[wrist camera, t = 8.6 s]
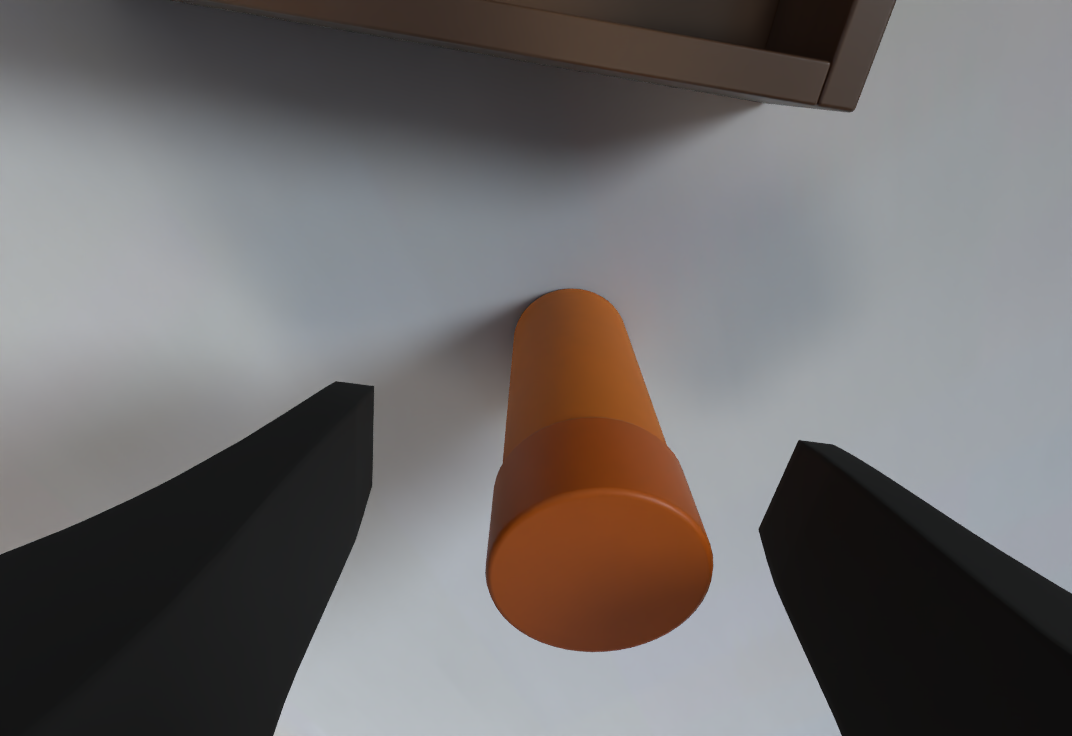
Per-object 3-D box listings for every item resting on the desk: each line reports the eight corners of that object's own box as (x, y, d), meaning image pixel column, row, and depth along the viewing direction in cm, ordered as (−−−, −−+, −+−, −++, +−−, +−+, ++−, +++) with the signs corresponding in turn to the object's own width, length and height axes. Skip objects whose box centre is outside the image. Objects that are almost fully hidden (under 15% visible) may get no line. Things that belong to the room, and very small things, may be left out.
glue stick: (503, 384, 14) (473, 643, 8) (518, 274, 13) (499, 476, 6) (615, 399, 15) (679, 664, 8) (642, 293, 13) (746, 506, 7)
